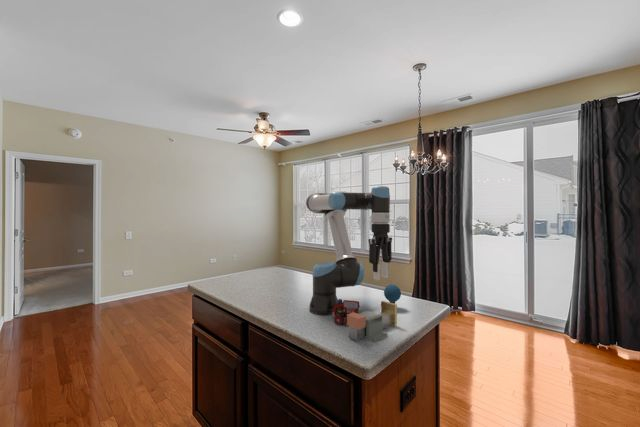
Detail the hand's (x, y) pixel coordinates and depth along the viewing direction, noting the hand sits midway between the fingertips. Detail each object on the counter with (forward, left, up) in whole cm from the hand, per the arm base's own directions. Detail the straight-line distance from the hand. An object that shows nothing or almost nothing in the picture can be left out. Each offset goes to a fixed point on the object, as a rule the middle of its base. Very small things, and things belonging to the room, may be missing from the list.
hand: (380, 278), depth 119 cm
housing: (-4, -7, -21) cm, 22 cm away
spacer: (-8, -13, -16) cm, 22 cm away
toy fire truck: (-15, +1, -21) cm, 26 cm away
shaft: (-3, -5, -20) cm, 21 cm away
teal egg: (+3, +27, -21) cm, 34 cm away
